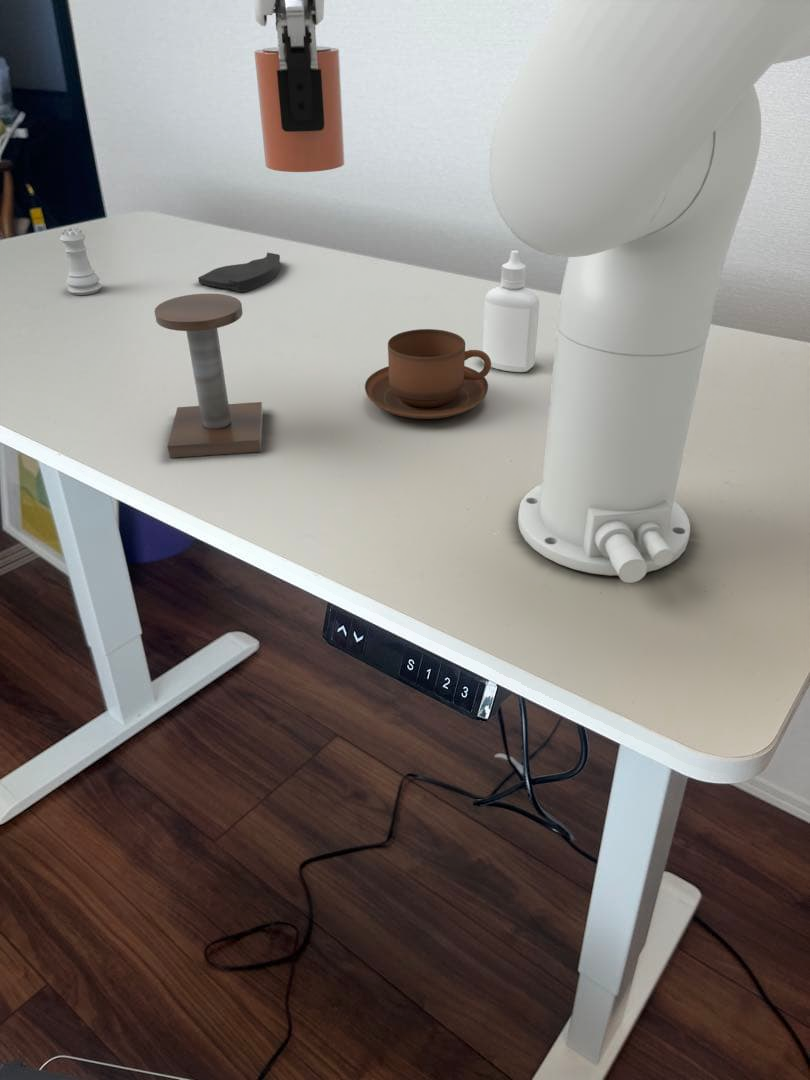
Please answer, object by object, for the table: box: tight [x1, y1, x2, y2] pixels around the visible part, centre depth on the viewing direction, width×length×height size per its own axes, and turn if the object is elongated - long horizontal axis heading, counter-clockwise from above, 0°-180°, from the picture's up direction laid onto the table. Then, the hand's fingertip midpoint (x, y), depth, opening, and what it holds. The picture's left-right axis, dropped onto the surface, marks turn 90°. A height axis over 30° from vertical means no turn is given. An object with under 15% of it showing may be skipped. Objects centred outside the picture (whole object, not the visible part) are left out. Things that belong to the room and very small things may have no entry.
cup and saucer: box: [364, 328, 492, 420], centre depth 79 cm, size 12×12×6 cm
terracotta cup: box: [254, 45, 346, 173], centre depth 64 cm, size 6×6×8 cm
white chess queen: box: [59, 227, 103, 296], centre depth 109 cm, size 4×4×8 cm
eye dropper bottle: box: [481, 250, 540, 373], centre depth 85 cm, size 4×6×12 cm
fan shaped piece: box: [197, 252, 281, 293], centre depth 115 cm, size 8×14×2 cm, turn 147°
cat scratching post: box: [154, 293, 264, 459], centre depth 72 cm, size 8×8×12 cm
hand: (302, 121), depth 65 cm, fingers closed on terracotta cup, 6 cm apart
